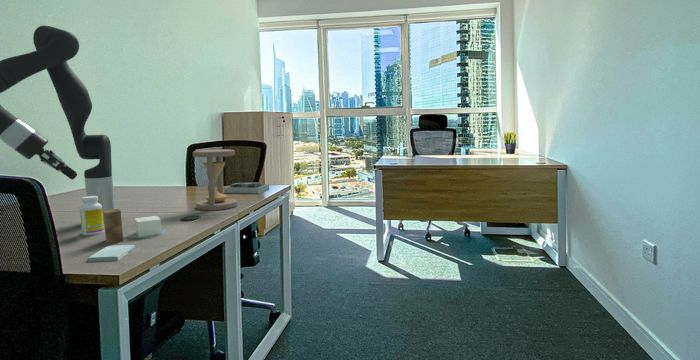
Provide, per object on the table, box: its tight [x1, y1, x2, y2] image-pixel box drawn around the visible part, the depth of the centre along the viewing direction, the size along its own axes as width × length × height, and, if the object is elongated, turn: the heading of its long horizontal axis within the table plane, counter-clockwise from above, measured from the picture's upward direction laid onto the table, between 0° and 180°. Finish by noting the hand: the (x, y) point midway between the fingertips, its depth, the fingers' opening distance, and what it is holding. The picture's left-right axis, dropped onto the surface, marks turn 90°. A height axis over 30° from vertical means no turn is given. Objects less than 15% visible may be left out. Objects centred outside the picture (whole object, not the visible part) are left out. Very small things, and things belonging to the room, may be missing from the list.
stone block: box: [230, 181, 262, 188], centre depth 242 cm, size 9×14×5 cm, turn 77°
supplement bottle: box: [79, 195, 105, 236], centre depth 153 cm, size 7×7×13 cm
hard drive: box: [86, 244, 136, 263], centre depth 129 cm, size 2×8×12 cm
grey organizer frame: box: [223, 183, 270, 195], centre depth 244 cm, size 20×15×3 cm
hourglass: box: [192, 148, 238, 211], centre depth 198 cm, size 18×18×25 cm
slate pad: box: [123, 228, 172, 239], centre depth 151 cm, size 11×12×1 cm
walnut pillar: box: [103, 208, 124, 244], centre depth 142 cm, size 4×4×10 cm
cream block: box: [134, 215, 162, 237], centre depth 151 cm, size 7×7×5 cm
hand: (74, 176), depth 135 cm, fingers open, 8 cm apart
